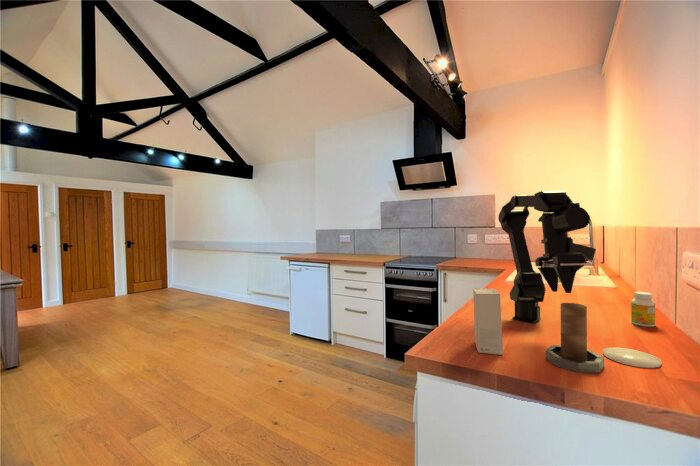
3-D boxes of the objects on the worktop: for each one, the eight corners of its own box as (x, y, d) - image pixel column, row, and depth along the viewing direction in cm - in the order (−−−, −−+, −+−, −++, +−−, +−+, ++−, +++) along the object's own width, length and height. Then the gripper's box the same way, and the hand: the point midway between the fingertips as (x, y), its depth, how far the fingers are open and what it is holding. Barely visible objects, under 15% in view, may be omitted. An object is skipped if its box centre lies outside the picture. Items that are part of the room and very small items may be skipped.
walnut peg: (558, 362, 70) (557, 305, 70) (564, 356, 73) (564, 301, 73) (583, 369, 67) (583, 309, 67) (589, 362, 70) (589, 305, 70)
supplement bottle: (626, 322, 98) (626, 291, 98) (642, 321, 99) (641, 290, 98) (644, 327, 93) (643, 295, 93) (660, 326, 93) (660, 294, 93)
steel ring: (540, 361, 71) (540, 353, 71) (555, 350, 77) (555, 342, 77) (595, 377, 63) (595, 367, 63) (607, 362, 69) (607, 354, 69)
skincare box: (503, 355, 74) (502, 294, 74) (476, 353, 76) (475, 293, 76) (497, 343, 82) (497, 287, 82) (473, 341, 84) (472, 286, 84)
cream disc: (598, 357, 72) (598, 355, 72) (608, 346, 79) (608, 344, 79) (658, 372, 65) (658, 369, 65) (663, 358, 71) (663, 356, 71)
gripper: (607, 228, 75) (616, 294, 72) (573, 238, 93) (580, 291, 90) (555, 230, 78) (562, 293, 75) (532, 239, 95) (537, 291, 93)
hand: (561, 292), depth 83 cm, fingers open, 9 cm apart
